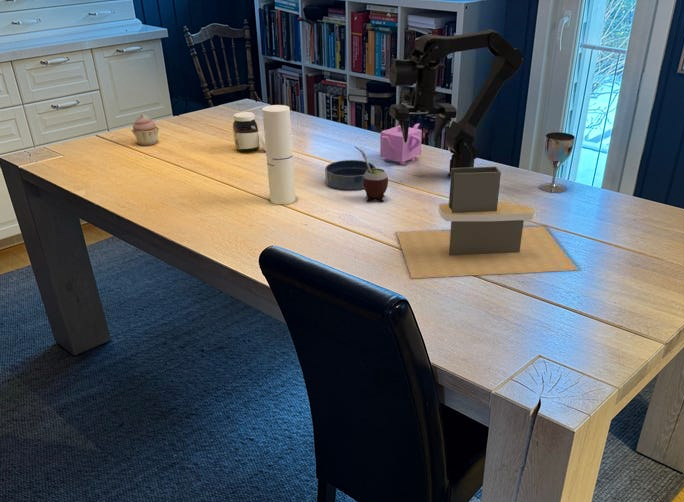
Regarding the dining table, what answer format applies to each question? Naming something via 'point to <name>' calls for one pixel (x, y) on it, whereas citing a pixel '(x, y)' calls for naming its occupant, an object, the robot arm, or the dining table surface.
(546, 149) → the metal goblet
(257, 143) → the spread jar
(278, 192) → the cylindrical container
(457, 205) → the architectural model
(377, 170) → the mate gourd
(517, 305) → the dining table surface
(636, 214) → the dining table surface
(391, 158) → the teapot
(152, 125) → the cupcake
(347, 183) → the large metal bowl
